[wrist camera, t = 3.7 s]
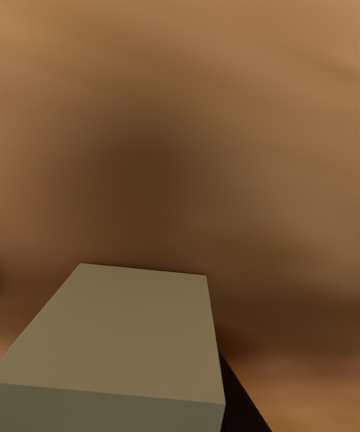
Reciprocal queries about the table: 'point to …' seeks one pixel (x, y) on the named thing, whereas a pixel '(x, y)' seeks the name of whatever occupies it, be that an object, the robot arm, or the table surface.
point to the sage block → (116, 357)
